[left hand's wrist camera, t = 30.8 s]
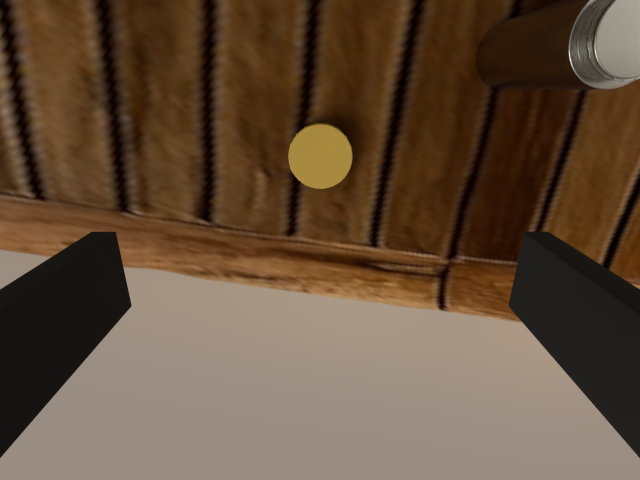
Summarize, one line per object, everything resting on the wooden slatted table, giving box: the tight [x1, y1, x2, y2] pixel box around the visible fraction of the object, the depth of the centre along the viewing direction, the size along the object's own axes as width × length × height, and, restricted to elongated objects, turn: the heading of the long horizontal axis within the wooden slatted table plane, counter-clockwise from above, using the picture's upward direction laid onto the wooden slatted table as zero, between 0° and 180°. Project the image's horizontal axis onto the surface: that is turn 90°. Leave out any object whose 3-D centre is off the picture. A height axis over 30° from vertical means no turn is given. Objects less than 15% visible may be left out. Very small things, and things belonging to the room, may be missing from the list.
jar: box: [476, 0, 640, 89], centre depth 26 cm, size 5×5×15 cm
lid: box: [288, 122, 353, 189], centre depth 36 cm, size 6×6×2 cm
